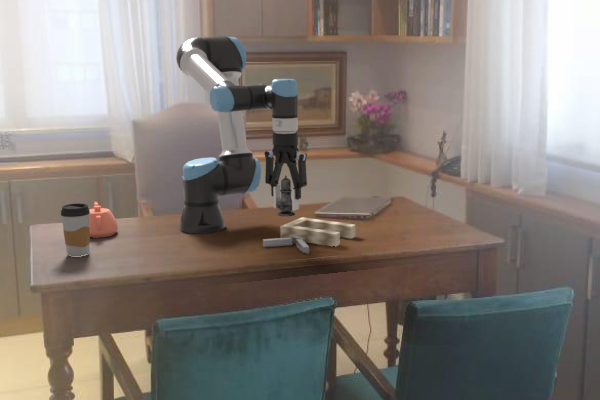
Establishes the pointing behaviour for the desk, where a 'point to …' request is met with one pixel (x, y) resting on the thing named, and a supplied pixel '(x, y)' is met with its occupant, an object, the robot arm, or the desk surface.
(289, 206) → the grey tall rounded piece
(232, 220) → the desk surface
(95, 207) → the teapot
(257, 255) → the desk surface
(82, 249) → the coffee cup
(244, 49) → the robot arm
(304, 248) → the v block
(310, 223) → the bracket
